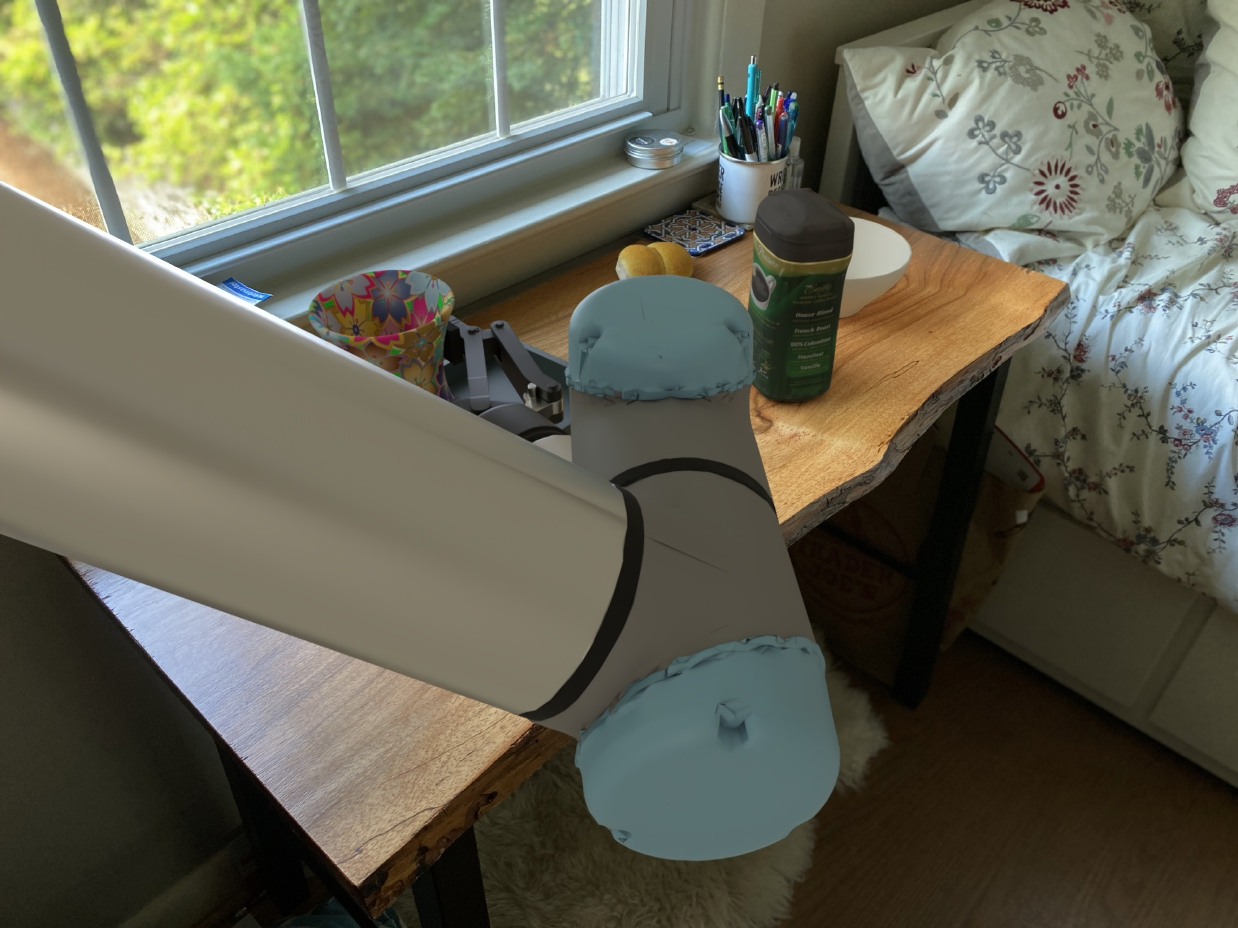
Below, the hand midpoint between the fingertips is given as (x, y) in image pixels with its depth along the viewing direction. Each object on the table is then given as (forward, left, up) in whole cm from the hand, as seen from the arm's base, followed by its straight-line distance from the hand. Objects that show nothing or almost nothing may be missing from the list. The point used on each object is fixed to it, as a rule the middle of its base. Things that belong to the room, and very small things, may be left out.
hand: (335, 339), depth 65 cm
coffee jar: (+40, +15, -18) cm, 46 cm away
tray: (+11, +13, -18) cm, 25 cm away
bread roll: (+32, +39, -18) cm, 53 cm away
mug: (+2, -3, -7) cm, 8 cm away
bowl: (+50, +29, -18) cm, 60 cm away
